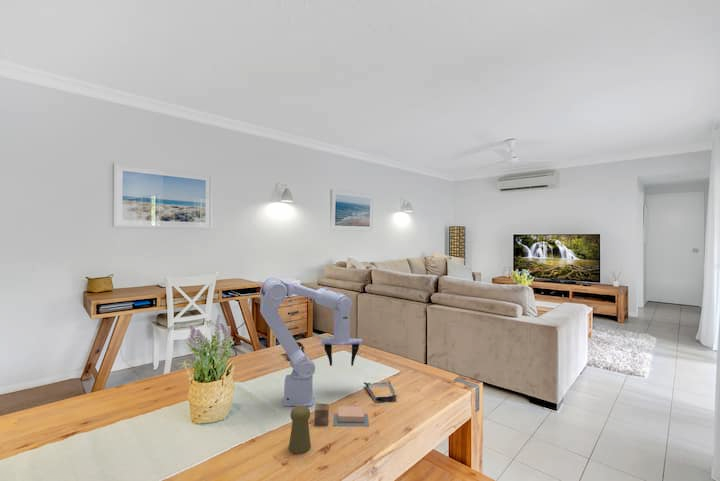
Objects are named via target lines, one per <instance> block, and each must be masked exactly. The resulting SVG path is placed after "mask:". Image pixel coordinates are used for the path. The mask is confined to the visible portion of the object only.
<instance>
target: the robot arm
mask: <svg viewBox="0 0 720 481" xmlns="http://www.w3.org/2000/svg"><path fill="white" fill-rule="evenodd" d="M259 294H260V295H259V296H260V304H259V306H260V308H259V312H260V314H261V316H262V317H263V319H264V321H265V322H266V323H267V325H268V327H269V328H270V330H271V331H272V333H273V335H274V336H275V338H276V339H277V341H278V343H279V344H280V345H281V347H282V349H283V350H284V351H285V353H287V354H286V355H288V357H289V359H290V360H289V365H290V367H291V368H292V371H291V374H287V375H285V379H284V384H283V385H284V389H283V406H284V407H296V406H300V405H302V406H306V407H312V406H313V404H314V399H315V393H313V377H314V376H313V375H314V374H315V371H316V365H315V363H314V362H313V361H312V360H311V359H310V358H309V357H308V356H307V355H306V353H305V352H304V353H303V352H302V350H301V346H300V347H299V346H298V344H297V343H296V339H295V338H294V336H293V335H292V333H291V331H290V329H288V326H287V325H286V324H285V321H283V319H282V318H281V315H280V314H279V313H278V312H279V311H278V310H279V307H280V305H281V304H282V302H283V301H284V300H285V298H286V297H288V298H290V297H292V296H293V295H295V296H300V297H304V298H308V299H312V300H314V301H315V304H317V305H319V306H324V307H327V308H330V309H333V311H334V312H333V337H331V338H321V346H322V347H323V346H324V351H325V353H326V356H327V357H328V362H329V366H330V367H332V366H333V353H332V350H333V347H332V346H351V362H350V365H351V367H353V366H354V363H355V358H356V355H357V353H358V351H359V349H360V347H362V345H363V339H362V338H353V337H351V335H350V334H351V331H350V330H351V329H350V328H351V310H352V309H353V306H354V303H353V300H352V299H351V297H350V296H348V295H345V294H343V293H341V292H340V291H333V290H330V288H328V287H326V286H324V288H323V287H320V288H318V289H314V288H310V287H307V286H305V285H301V284H298V283H297V282H292V281H290V280H284V279H276V278H275V277H274V278H273V277H272V278H271V277H270V278H267V279H266V280H265V281H263V284H262V285H261V287H260V290H259Z"/></svg>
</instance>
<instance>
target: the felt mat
mask: <svg viewBox="0 0 720 481" xmlns="http://www.w3.org/2000/svg"><path fill="white" fill-rule="evenodd" d="M332 427H370V421H369V414H368V413H364V422H363V423H355V422H339V421H338V413H333V419H332Z"/></svg>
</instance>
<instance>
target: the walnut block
mask: <svg viewBox="0 0 720 481" xmlns="http://www.w3.org/2000/svg"><path fill="white" fill-rule="evenodd" d="M329 406H330V403H321V402H319V403H315V406H314V425H313V426H315V427H316V426H317V427H319V426H320V427H322V426H323V427H328V426H329V410H330V409H329V408H330V407H329Z"/></svg>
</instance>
